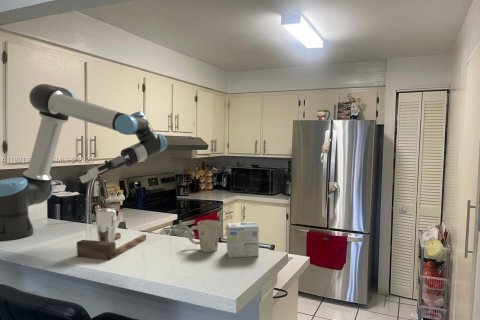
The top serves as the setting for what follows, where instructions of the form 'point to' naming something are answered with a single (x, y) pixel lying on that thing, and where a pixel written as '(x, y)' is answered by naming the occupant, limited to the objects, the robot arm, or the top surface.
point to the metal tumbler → (106, 224)
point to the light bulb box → (242, 239)
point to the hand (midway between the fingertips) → (85, 177)
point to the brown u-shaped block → (105, 247)
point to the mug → (206, 235)
